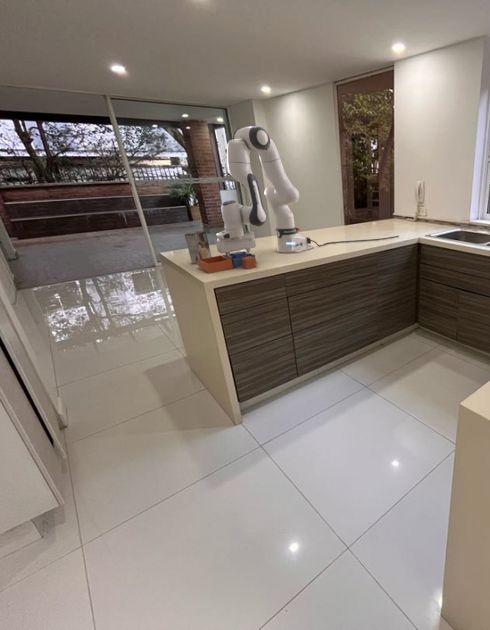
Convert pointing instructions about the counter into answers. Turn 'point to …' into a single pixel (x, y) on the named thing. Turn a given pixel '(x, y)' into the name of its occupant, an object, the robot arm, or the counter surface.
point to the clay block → (248, 262)
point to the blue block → (238, 255)
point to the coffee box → (198, 246)
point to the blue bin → (238, 259)
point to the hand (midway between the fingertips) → (239, 258)
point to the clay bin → (215, 264)
